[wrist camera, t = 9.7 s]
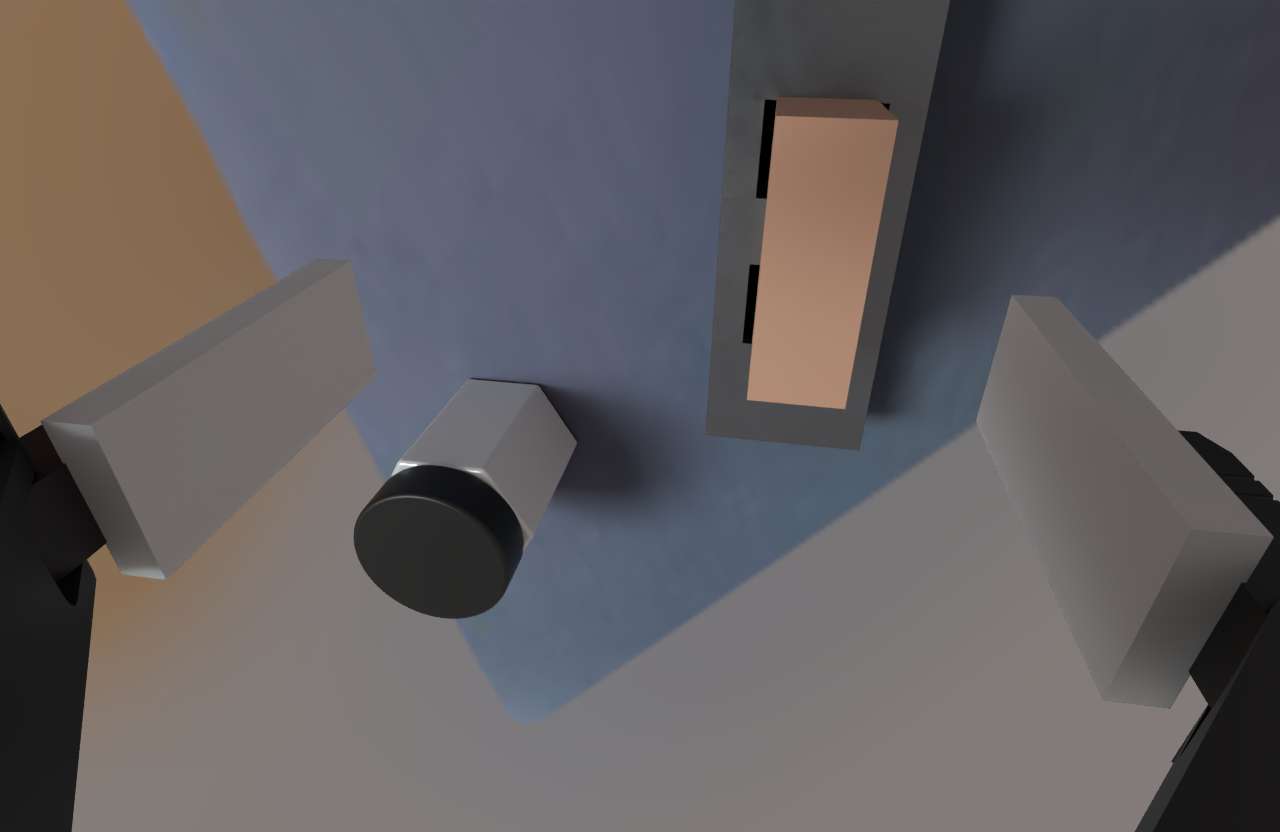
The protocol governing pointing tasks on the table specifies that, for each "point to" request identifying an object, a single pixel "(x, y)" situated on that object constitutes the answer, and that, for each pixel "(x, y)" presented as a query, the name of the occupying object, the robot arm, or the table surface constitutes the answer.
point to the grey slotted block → (763, 70)
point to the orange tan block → (818, 246)
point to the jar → (465, 500)
